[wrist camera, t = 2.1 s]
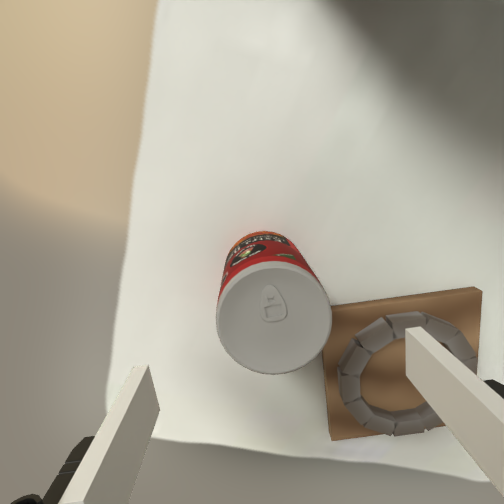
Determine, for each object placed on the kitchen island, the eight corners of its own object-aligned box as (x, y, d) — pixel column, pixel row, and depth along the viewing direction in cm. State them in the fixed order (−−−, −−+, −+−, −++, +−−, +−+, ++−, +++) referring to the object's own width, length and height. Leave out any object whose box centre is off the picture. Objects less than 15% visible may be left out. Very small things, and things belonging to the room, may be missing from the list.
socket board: (318, 307, 32) (324, 320, 29) (473, 286, 31) (494, 297, 29) (329, 432, 36) (335, 452, 33) (466, 414, 36) (483, 433, 33)
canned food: (281, 215, 29) (303, 243, 18) (315, 286, 31) (352, 347, 20) (210, 250, 30) (191, 297, 19) (247, 317, 32) (249, 392, 21)
